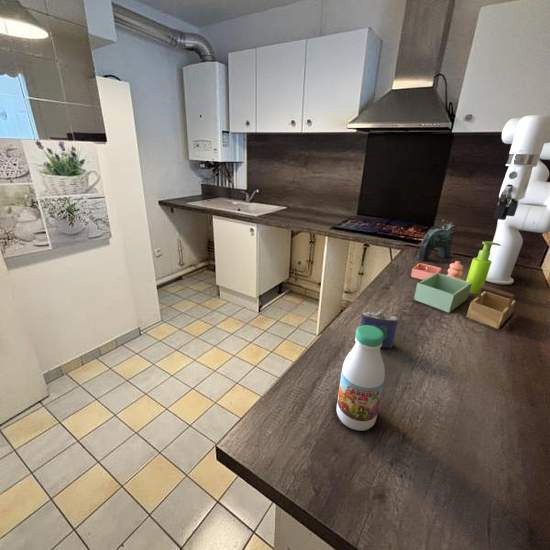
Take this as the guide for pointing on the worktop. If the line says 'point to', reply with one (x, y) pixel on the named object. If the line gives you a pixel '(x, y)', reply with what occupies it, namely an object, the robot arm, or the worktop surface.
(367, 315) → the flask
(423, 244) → the dark green animal figurine
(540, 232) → the robot arm
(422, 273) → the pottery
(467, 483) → the worktop surface
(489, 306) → the wooden basket
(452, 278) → the green basket
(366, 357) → the milk bottle
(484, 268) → the soap dispenser
